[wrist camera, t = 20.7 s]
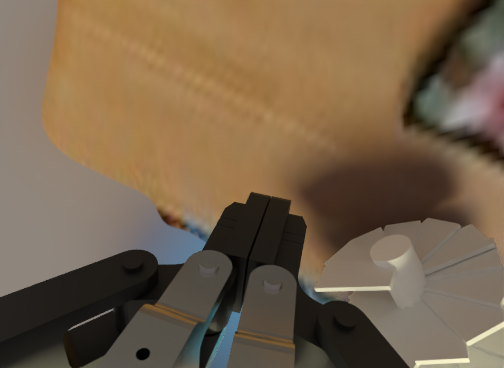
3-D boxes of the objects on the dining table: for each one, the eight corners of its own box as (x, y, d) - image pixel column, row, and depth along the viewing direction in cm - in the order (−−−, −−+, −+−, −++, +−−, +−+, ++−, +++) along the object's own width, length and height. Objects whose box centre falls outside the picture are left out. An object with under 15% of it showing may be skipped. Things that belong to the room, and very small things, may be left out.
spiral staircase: (419, 179, 44) (485, 327, 51) (293, 253, 44) (376, 390, 51) (562, 236, 26) (634, 451, 33) (352, 359, 27) (466, 547, 33)
